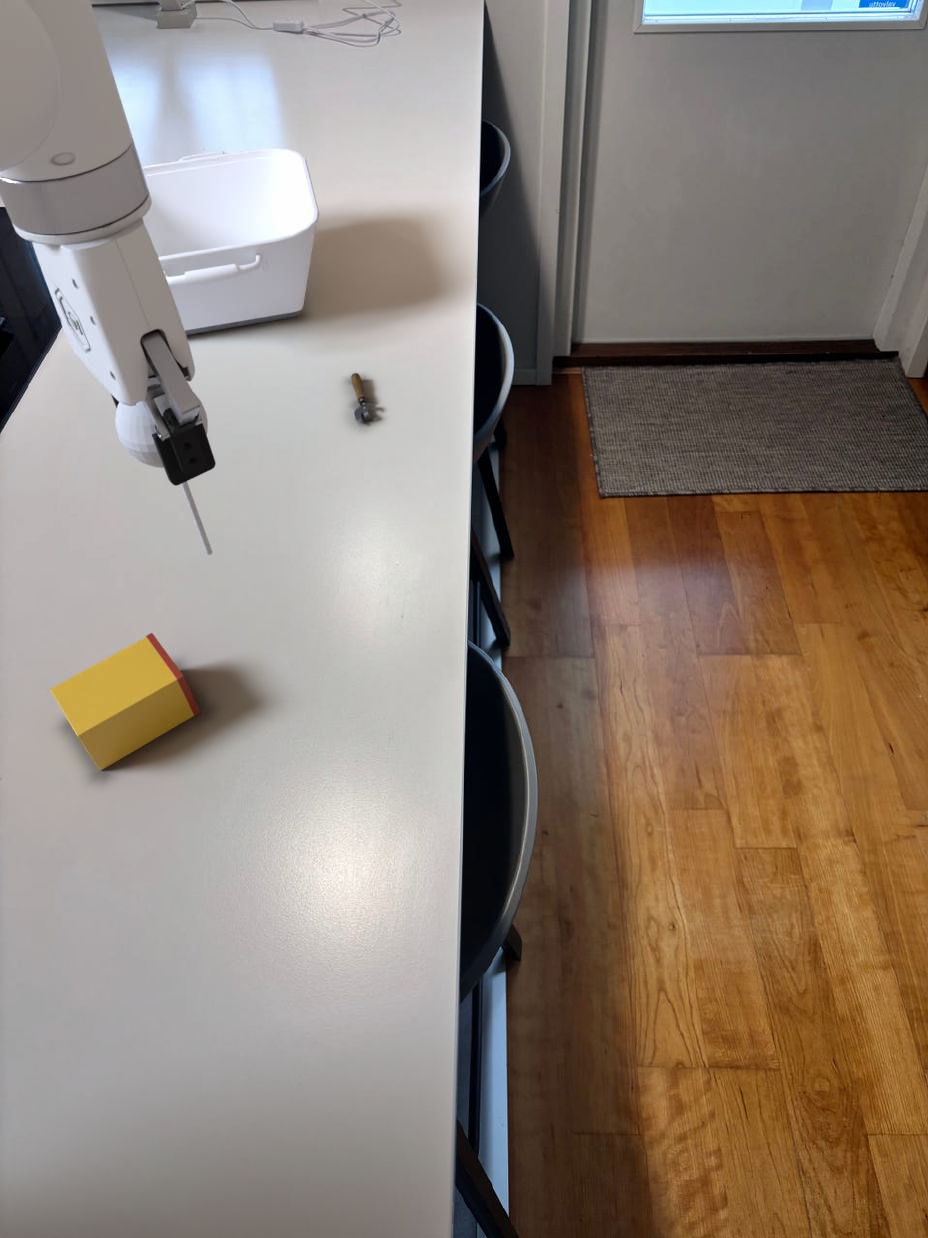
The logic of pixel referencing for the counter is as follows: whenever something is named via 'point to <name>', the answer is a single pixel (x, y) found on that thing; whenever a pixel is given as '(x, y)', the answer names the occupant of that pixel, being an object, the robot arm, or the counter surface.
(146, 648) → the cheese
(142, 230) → the robot arm
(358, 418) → the can opener
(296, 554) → the counter surface
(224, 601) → the counter surface
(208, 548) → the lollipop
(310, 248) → the tub
